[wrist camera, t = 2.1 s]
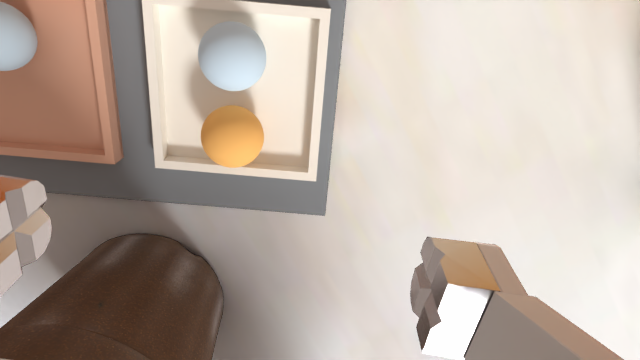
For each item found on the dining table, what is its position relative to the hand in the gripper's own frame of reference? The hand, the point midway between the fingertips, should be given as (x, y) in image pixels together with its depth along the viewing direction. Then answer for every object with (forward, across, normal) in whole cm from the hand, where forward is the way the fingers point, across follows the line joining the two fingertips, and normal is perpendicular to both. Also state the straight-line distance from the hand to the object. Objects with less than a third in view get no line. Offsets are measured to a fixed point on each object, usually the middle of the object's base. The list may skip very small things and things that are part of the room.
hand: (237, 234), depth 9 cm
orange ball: (+18, -4, -6) cm, 19 cm away
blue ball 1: (+18, -18, -2) cm, 26 cm away
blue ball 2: (+18, -4, -1) cm, 19 cm away
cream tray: (+20, -4, -3) cm, 21 cm away
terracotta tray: (+20, -18, -4) cm, 27 cm away
